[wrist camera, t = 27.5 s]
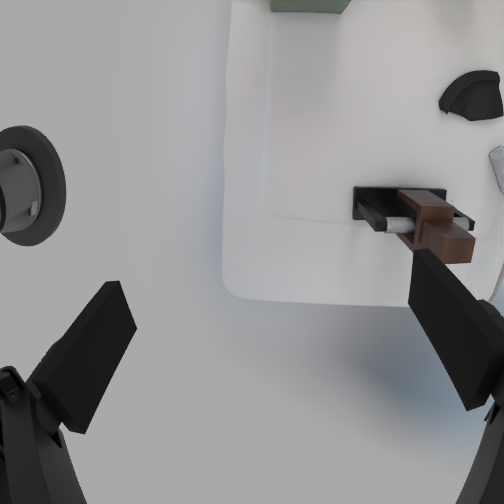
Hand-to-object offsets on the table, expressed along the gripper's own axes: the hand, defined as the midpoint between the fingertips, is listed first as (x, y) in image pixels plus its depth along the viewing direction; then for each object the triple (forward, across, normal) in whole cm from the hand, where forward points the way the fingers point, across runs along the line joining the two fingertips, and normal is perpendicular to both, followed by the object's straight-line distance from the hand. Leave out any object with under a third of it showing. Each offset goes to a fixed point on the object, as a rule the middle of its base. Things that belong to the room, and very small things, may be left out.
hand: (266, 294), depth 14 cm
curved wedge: (+34, +35, +10) cm, 50 cm away
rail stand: (+34, +20, -8) cm, 41 cm away
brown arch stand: (+30, +20, -8) cm, 37 cm away
